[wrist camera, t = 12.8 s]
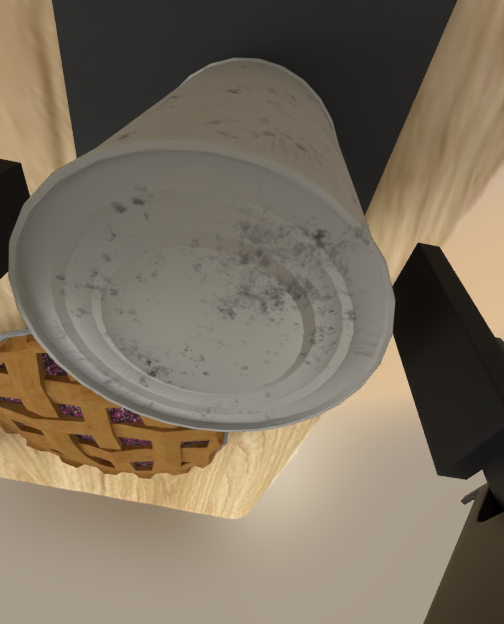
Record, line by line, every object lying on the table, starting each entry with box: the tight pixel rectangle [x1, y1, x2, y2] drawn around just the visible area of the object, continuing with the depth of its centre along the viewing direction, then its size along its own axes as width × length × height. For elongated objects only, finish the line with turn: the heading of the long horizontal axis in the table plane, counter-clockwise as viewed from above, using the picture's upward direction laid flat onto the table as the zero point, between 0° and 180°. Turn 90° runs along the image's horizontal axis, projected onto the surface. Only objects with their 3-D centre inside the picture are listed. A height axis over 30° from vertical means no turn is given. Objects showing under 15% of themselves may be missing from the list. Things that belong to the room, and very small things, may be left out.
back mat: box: [52, 0, 457, 216], centre depth 18 cm, size 20×16×1 cm
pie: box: [0, 328, 228, 479], centre depth 31 cm, size 22×22×5 cm
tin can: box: [8, 58, 395, 432], centre depth 14 cm, size 10×10×12 cm
